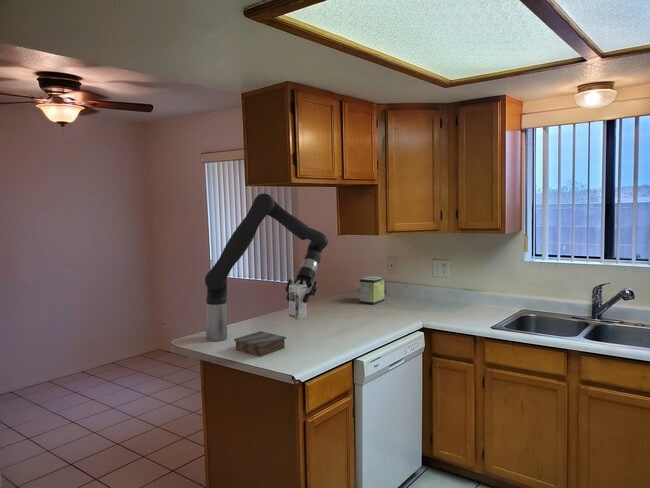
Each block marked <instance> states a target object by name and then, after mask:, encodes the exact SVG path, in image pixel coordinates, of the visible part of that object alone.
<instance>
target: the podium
mask: <svg viewBox="0 0 650 488" xmlns="http://www.w3.org/2000/svg"><path fill="white" fill-rule="evenodd" d="M286 339H287V337H286V336H283V335H278V334H275V333H270V332H266V331H262V330H259V331H257V332H254V333H250V334H246V335H243V336H240V337H236V338H234V339H233V342H235V350H236V351H238V352H242V353H244V354H245V353H246V354H249V355H253V356H257V357H263V356H266V355H269V354H272V353H275V352H277V351H281V350H283V349H285V347H286V346H285V345H286V343H285V340H286Z"/></svg>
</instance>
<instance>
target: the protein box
mask: <svg viewBox="0 0 650 488" xmlns="http://www.w3.org/2000/svg"><path fill="white" fill-rule="evenodd" d="M384 301H385V276H383V277H382V276H373V275H369V276H367V277H362V278H359V304H363V303H364V304H365V305H373V306H374V305H377V304H380V303H382V302H384ZM379 302H380V303H379Z"/></svg>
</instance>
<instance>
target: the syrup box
mask: <svg viewBox="0 0 650 488" xmlns="http://www.w3.org/2000/svg"><path fill="white" fill-rule="evenodd" d="M306 291H307V285H301V284H292V285H289V302H288V318H289V319H293V320H296V321H298V320H301V319H306V318H307V305H308V301H307V302H306V303H304V302H303V299H304V296H305V294H306Z"/></svg>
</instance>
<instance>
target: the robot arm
mask: <svg viewBox="0 0 650 488" xmlns="http://www.w3.org/2000/svg"><path fill="white" fill-rule="evenodd" d="M266 216H268V217H271V218H272V219H274V220H276V221H277V222H278V223H280V224H281V225H282V226H283V227H284V228H285V229H287V231H288V232H290V233H291V234H293V235H294V236H295V237H297V238H298V239H300V240H301V241H306V240H309V241H310V242H309V244H308V247H307V250H306V255H305V256H304V259H303V260H302V263H301V265H300V268H299V270H298V272H297V275H296V279H295V280H292V279H288V280H287V281H288V282H287V283H286V286H285V291H286V293H287V295H286V301H287V302H288V303H289V285H292V284H301V285H307V291H306V294H305V296H304V299H303V302H304V303H306V302H307V303H308V301H309V298H310V297H311V296H312V297H314V296H315V294H316V292H317V289H318V287H319V283H318V282H317V281H314V280H315V276H316V274H317V272H318V269H319V268H318V267H319V266H320V265H319V264H320V262H321V258H322V255H321V254H322V252H323V250H324V249H325V248H326V247H327V246H328V245H329V239H328V237H327V235H326V234H324V233H323V232H321V231H318V229H317V230H316V229H314V228H312V227H309V226H308V225H307V224H305V223H304V222H303V221H301V220H300V219H299V218H298V217H295V216H294V215H292V214H291V213H289V212H288V211H286V210H285V209H284V208H282V206H281V205H280V204H279V203H278V202H277V201H276V200H275V199H274V198H273V197H272V195H270V194H268V193H265V192H264V193H260V194H258V195H257V196H256V197H254V200H253V202H252V204H251V206H250V209H249V210H248V212H247V214H246V215H245V216H244V218H243V220H242V221H240V223H239V225H238V226H237V227H236V229H235V230H234V232H233V233H232V234H231V236H230V237H229V239H228V241H227V243H226V245H225V246H224V248H223V250H222V252H221V254H220V256H219V258H218V259H217V261H216V262H215V264H214V265H213V266H212V268H210V270H209V271H208V272H207V273H206V275H205V278H204V283H205V286H206V287H207V290H206V292H207V293H206V318H205V335H206V340H207V341H210V342H219V341H220V342H221V341H225V340H226V339H228V311H227V310H228V309H227V308H228V307H227V306H228V305H227V301H228V299H227V298H228V295H227V294H228V276H229V274H230V272H231V271H232V269H233V267H234V266H235V265H236V264H237V262H238V261H239V260H240V259H241V257H242V256H243V255H244V254H245V253H246V251H247V249H248V248H249V246H250V245H251V243H252V242H253V240H254V238H255V236H256V233H257V231H258V228H259V226H260V225H261V223H262V222H263V220H265V218H266ZM310 288H311V289H310Z"/></svg>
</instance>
